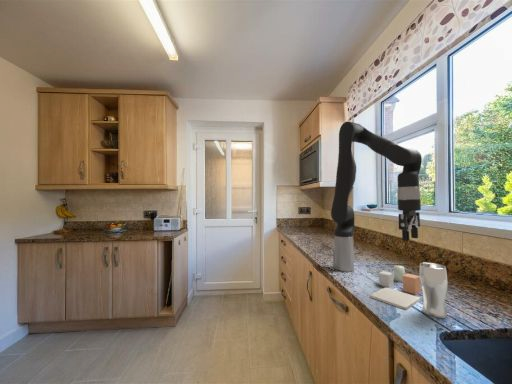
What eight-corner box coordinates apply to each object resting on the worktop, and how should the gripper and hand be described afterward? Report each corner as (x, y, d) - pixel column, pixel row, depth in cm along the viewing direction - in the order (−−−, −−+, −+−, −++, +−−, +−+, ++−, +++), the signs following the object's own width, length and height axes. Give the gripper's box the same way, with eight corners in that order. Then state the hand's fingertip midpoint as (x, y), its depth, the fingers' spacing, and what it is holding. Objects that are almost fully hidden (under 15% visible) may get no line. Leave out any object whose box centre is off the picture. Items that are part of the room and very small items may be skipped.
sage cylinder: (392, 280, 100) (392, 266, 100) (396, 278, 102) (396, 264, 102) (402, 282, 97) (402, 268, 97) (406, 280, 99) (406, 266, 99)
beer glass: (415, 308, 74) (413, 262, 75) (434, 307, 75) (433, 262, 75) (433, 319, 67) (431, 269, 68) (455, 318, 68) (452, 268, 68)
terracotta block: (403, 290, 88) (402, 275, 88) (407, 288, 91) (407, 273, 91) (416, 294, 85) (415, 278, 85) (420, 291, 87) (419, 276, 87)
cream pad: (370, 297, 83) (369, 295, 83) (385, 289, 90) (385, 287, 90) (406, 310, 73) (406, 307, 73) (420, 299, 80) (420, 297, 80)
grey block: (379, 284, 95) (378, 272, 95) (383, 282, 97) (383, 270, 97) (389, 287, 92) (388, 275, 92) (393, 285, 94) (393, 273, 94)
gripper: (405, 198, 96) (407, 236, 96) (390, 198, 88) (392, 240, 87) (426, 198, 90) (428, 238, 90) (412, 198, 82) (414, 243, 81)
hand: (410, 239), depth 89 cm, fingers open, 8 cm apart
